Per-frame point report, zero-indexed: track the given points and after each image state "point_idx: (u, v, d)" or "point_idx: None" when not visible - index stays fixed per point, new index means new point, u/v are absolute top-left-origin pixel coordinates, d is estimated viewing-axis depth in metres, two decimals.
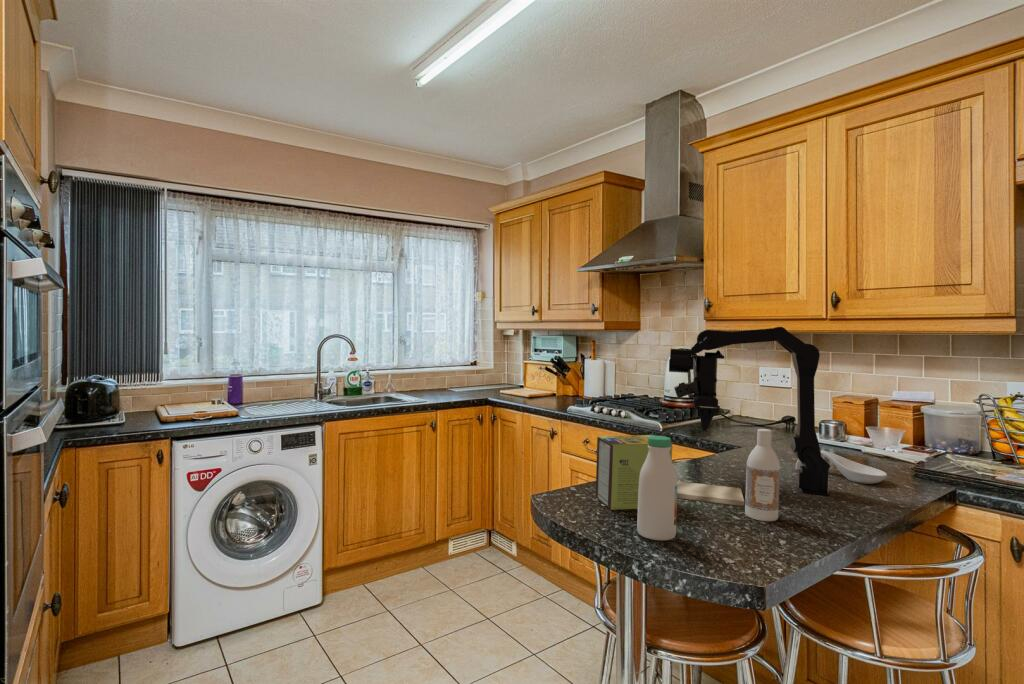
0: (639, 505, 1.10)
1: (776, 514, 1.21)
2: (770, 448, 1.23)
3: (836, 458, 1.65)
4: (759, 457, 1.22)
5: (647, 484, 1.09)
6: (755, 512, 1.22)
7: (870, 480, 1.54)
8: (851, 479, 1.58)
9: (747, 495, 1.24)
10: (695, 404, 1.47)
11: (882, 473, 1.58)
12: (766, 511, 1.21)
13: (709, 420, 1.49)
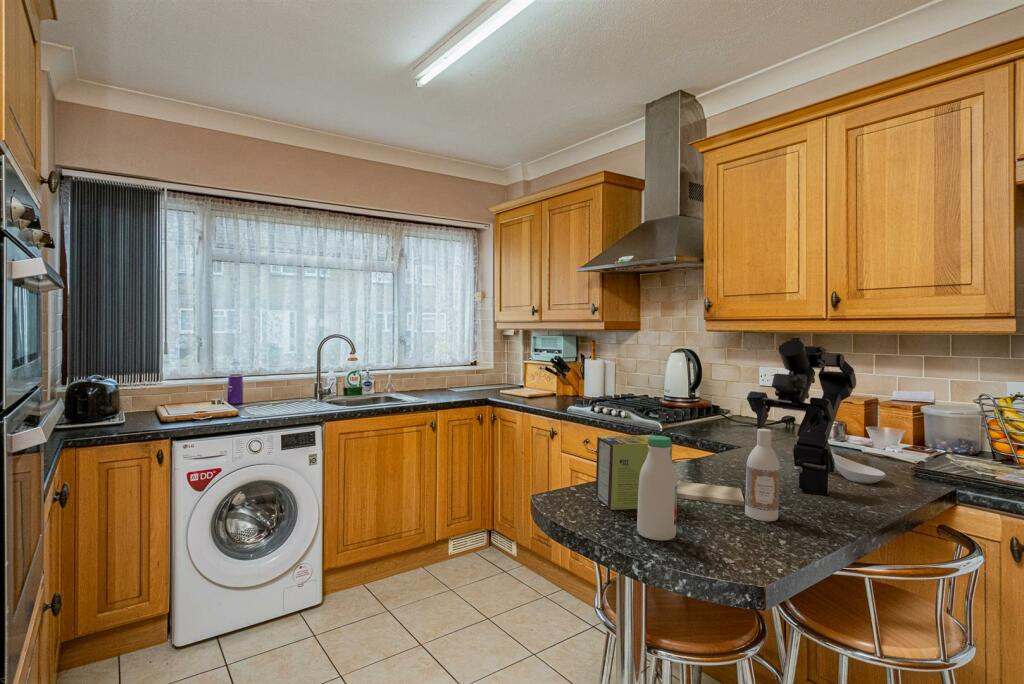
0: (639, 505, 1.10)
1: (776, 514, 1.21)
2: (770, 448, 1.23)
3: (835, 458, 1.65)
4: (759, 457, 1.22)
5: (647, 484, 1.09)
6: (755, 512, 1.22)
7: (868, 480, 1.54)
8: (849, 479, 1.58)
9: (747, 495, 1.24)
10: (826, 405, 1.25)
11: (881, 473, 1.58)
12: (766, 511, 1.21)
13: (808, 428, 1.27)
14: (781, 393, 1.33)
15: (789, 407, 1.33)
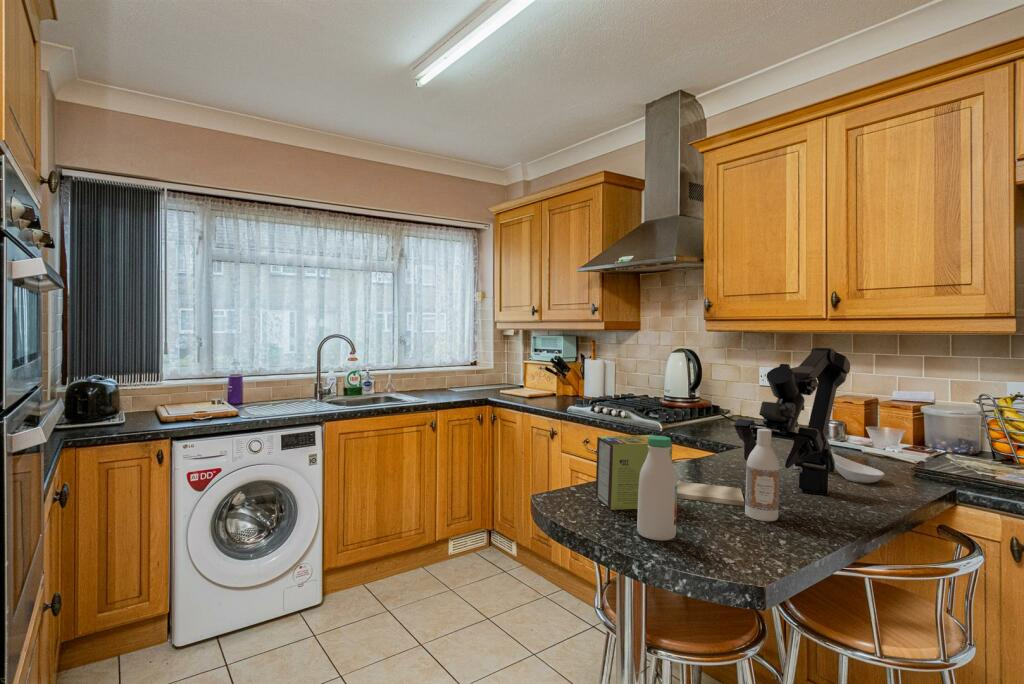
0: (639, 505, 1.10)
1: (776, 514, 1.21)
2: (770, 448, 1.23)
3: (834, 457, 1.66)
4: (759, 457, 1.22)
5: (647, 484, 1.09)
6: (755, 512, 1.22)
7: (866, 479, 1.55)
8: (848, 478, 1.59)
9: (747, 495, 1.24)
10: (815, 436, 1.20)
11: (880, 473, 1.58)
12: (766, 511, 1.21)
13: (797, 459, 1.23)
14: (769, 422, 1.29)
15: (777, 436, 1.28)
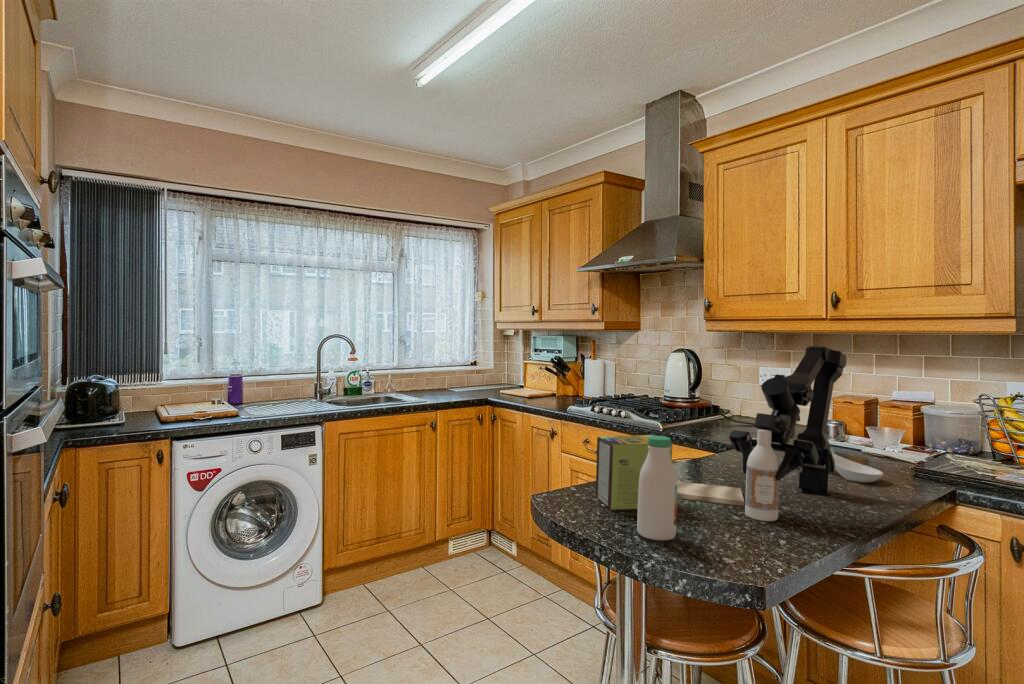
0: (639, 505, 1.10)
1: (776, 514, 1.21)
2: (770, 448, 1.23)
3: (833, 457, 1.66)
4: (759, 457, 1.22)
5: (647, 484, 1.09)
6: (755, 512, 1.22)
7: (865, 479, 1.55)
8: (847, 478, 1.59)
9: (747, 495, 1.24)
10: (811, 449, 1.19)
11: (878, 472, 1.59)
12: (766, 511, 1.21)
13: (787, 471, 1.22)
14: None
15: None
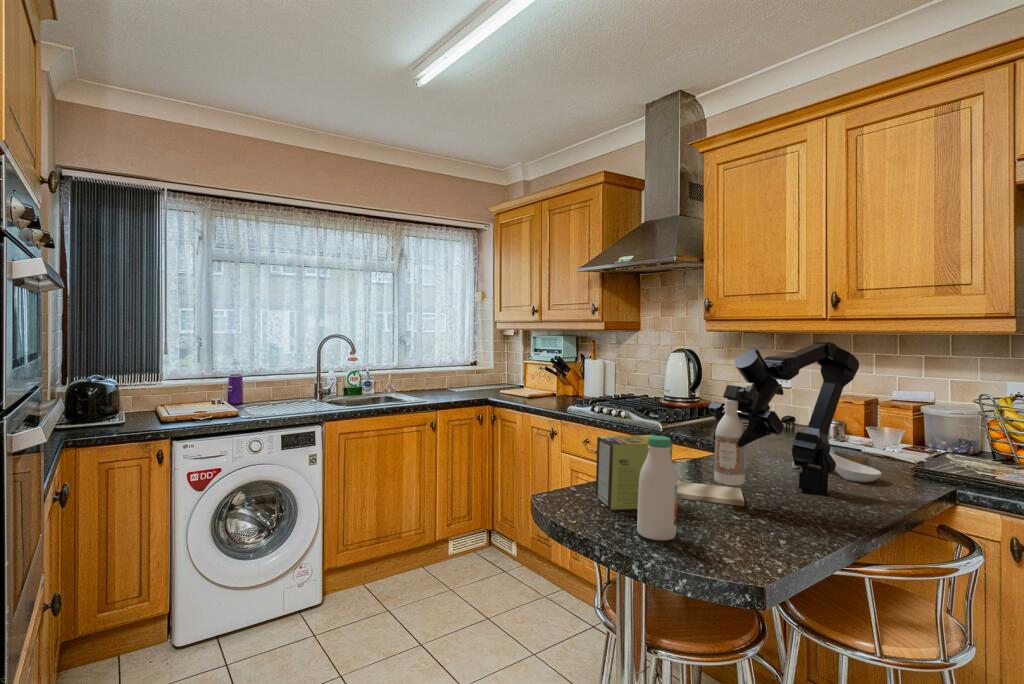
0: (639, 505, 1.10)
1: (740, 479, 1.29)
2: (735, 417, 1.30)
3: (832, 457, 1.67)
4: (723, 425, 1.31)
5: (647, 484, 1.09)
6: (719, 476, 1.31)
7: (864, 479, 1.56)
8: (845, 477, 1.59)
9: None
10: (770, 417, 1.25)
11: (877, 472, 1.59)
12: (729, 475, 1.29)
13: (751, 439, 1.29)
14: None
15: (740, 418, 1.34)
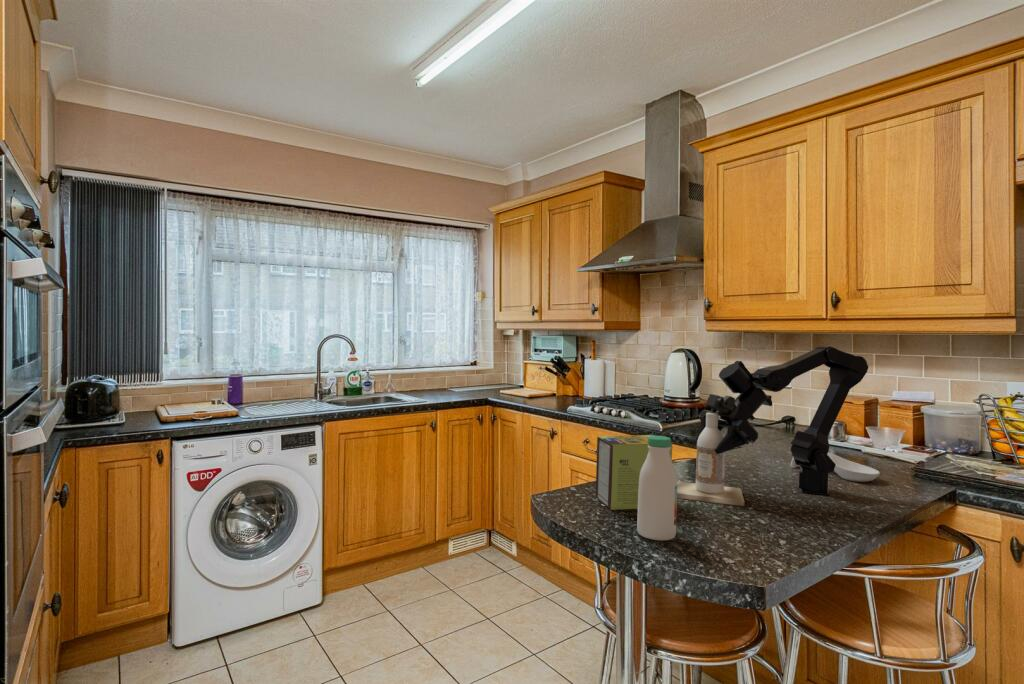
0: (639, 505, 1.10)
1: (716, 488, 1.37)
2: (714, 429, 1.38)
3: (830, 456, 1.67)
4: (702, 436, 1.39)
5: (647, 484, 1.09)
6: (698, 484, 1.39)
7: (862, 478, 1.56)
8: (844, 477, 1.60)
9: None
10: (741, 426, 1.31)
11: (875, 472, 1.60)
12: (705, 483, 1.37)
13: (729, 447, 1.35)
14: (720, 413, 1.42)
15: (725, 426, 1.40)
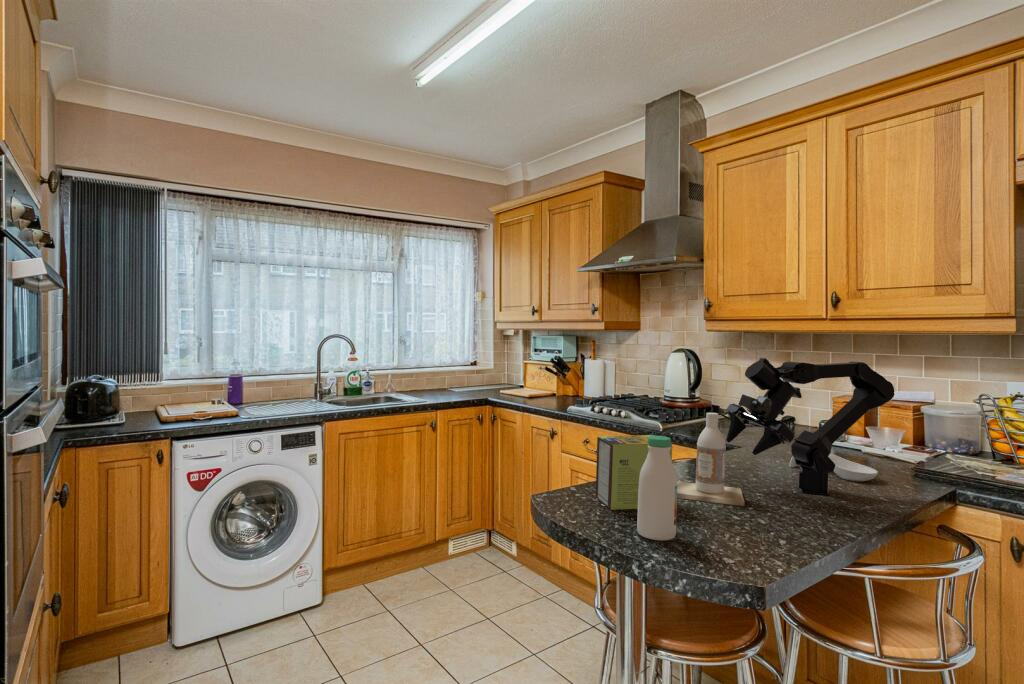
0: (639, 505, 1.10)
1: (716, 488, 1.37)
2: (714, 429, 1.38)
3: (829, 456, 1.68)
4: (702, 436, 1.39)
5: (647, 484, 1.09)
6: (698, 484, 1.39)
7: (860, 478, 1.56)
8: (842, 477, 1.60)
9: None
10: (780, 430, 1.34)
11: (874, 471, 1.60)
12: (705, 483, 1.37)
13: (766, 447, 1.38)
14: (751, 411, 1.44)
15: (758, 424, 1.43)
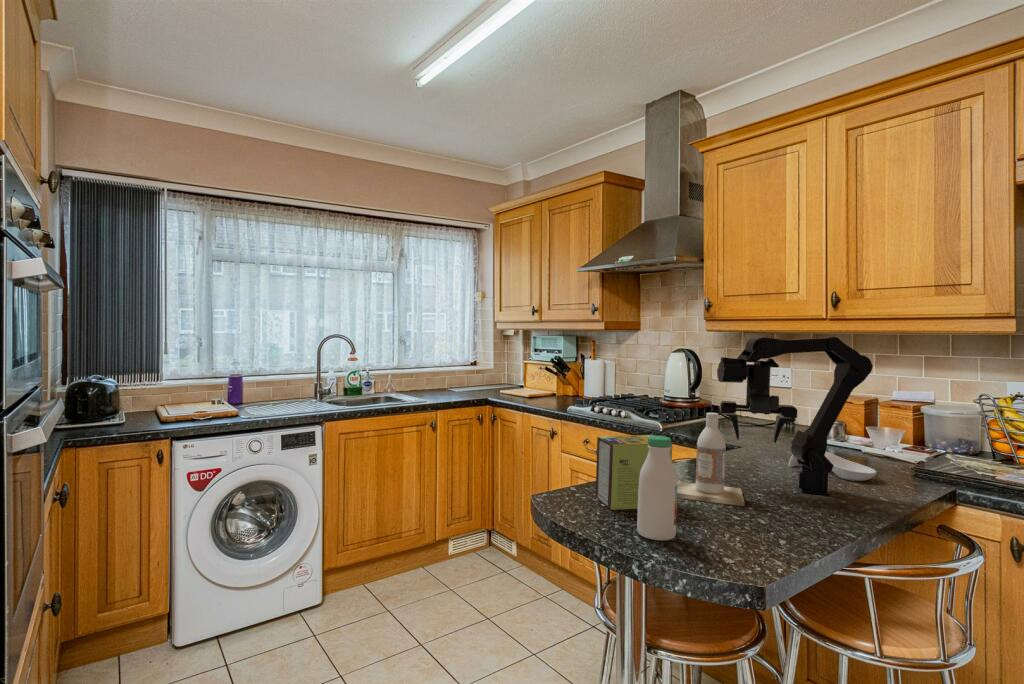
0: (639, 505, 1.10)
1: (716, 488, 1.37)
2: (714, 429, 1.38)
3: (828, 456, 1.68)
4: (702, 436, 1.39)
5: (647, 484, 1.09)
6: (698, 484, 1.39)
7: (858, 477, 1.57)
8: (840, 476, 1.61)
9: None
10: (796, 416, 1.42)
11: (872, 471, 1.60)
12: (705, 483, 1.37)
13: None
14: None
15: None
